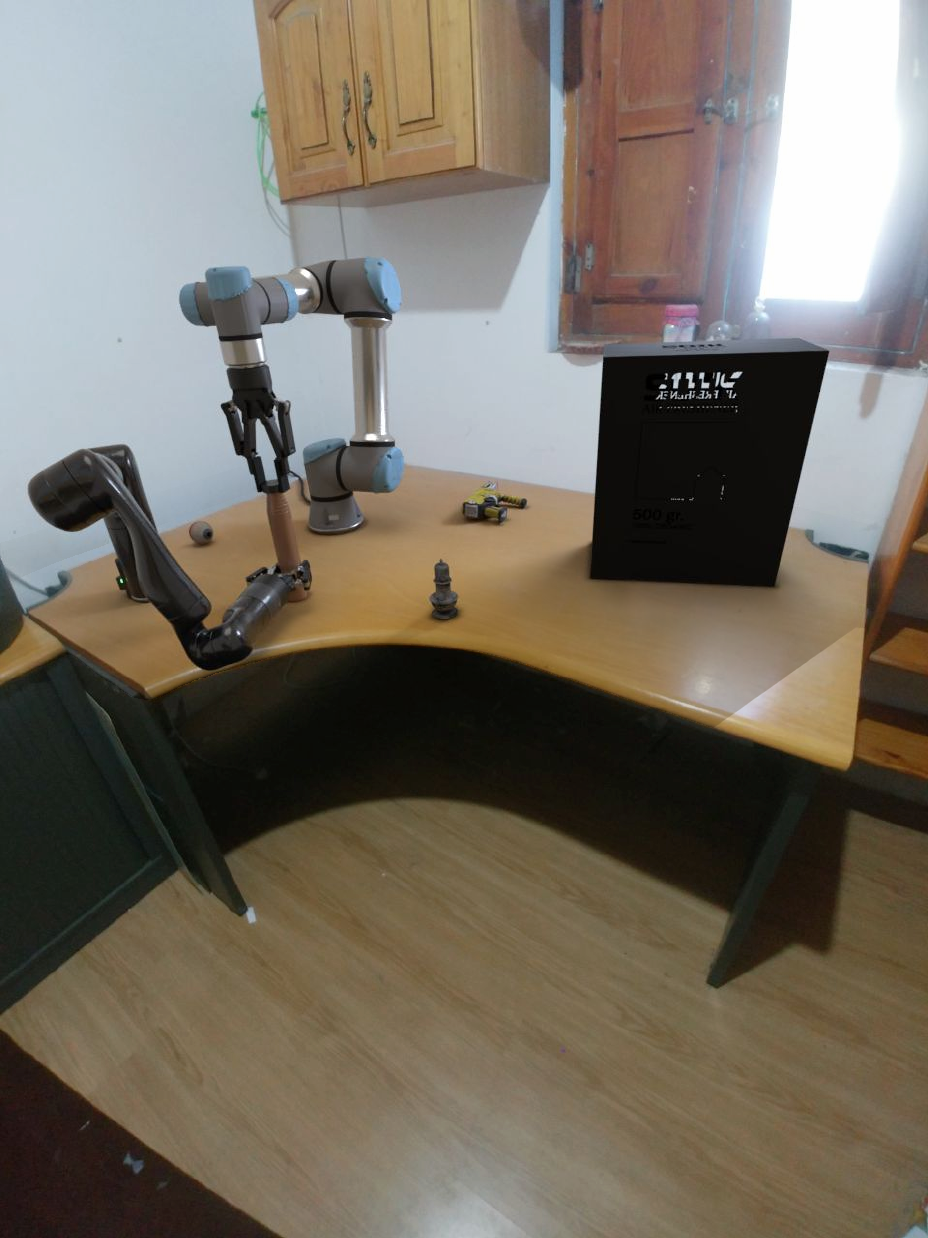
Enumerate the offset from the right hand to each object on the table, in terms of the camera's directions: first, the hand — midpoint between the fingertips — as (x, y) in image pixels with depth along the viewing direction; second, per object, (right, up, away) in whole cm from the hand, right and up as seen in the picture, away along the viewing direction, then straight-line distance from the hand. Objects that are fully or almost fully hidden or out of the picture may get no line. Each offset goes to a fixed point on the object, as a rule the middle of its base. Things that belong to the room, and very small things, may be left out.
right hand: (273, 490), depth 121 cm
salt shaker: (+34, -25, +2) cm, 42 cm away
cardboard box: (+86, -13, +17) cm, 89 cm away
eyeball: (-32, -5, +42) cm, 53 cm away
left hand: (+1, -14, +11) cm, 18 cm away
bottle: (+1, -21, +12) cm, 24 cm away
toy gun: (+48, +6, +54) cm, 72 cm away
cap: (0, +1, -1) cm, 1 cm away
